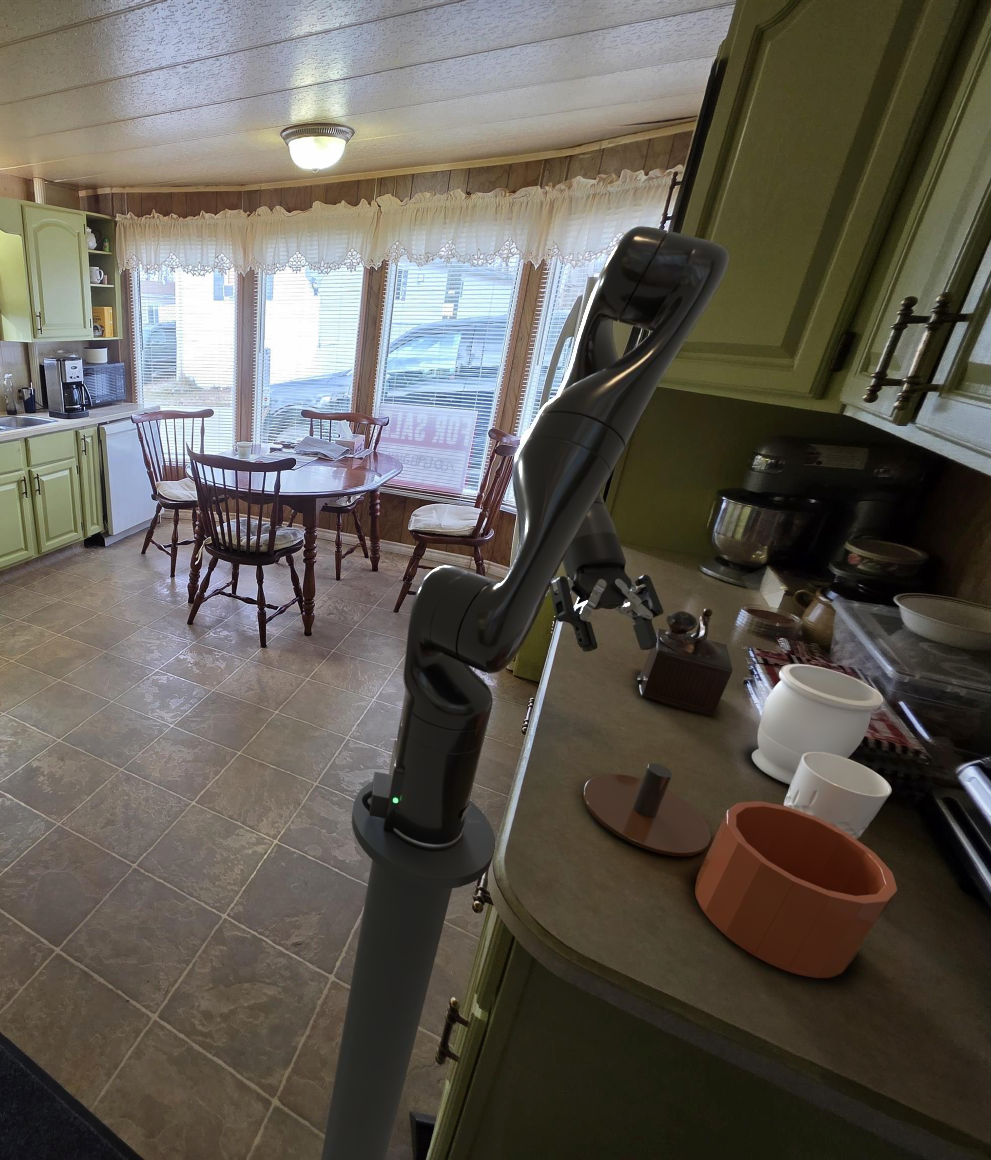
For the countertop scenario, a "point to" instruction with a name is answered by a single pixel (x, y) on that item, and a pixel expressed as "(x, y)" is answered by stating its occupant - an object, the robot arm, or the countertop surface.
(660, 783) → the lid
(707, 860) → the crock
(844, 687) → the jar
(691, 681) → the manual coffee grinder
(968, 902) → the countertop surface
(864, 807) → the white cup
